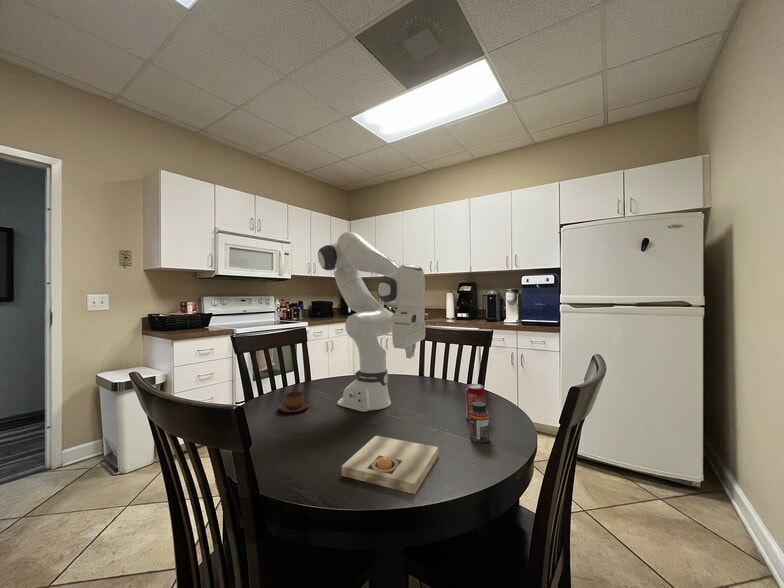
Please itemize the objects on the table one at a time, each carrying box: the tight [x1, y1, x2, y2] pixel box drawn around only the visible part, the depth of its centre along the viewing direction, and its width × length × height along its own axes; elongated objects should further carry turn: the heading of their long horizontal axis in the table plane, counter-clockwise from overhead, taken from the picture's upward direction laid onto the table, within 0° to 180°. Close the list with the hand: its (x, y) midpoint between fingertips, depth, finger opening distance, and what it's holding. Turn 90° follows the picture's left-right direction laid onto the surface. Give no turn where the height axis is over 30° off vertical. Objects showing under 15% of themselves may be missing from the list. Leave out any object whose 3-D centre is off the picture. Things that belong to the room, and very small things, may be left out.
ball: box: [377, 457, 392, 470], centre depth 85 cm, size 4×4×4 cm
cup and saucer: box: [278, 391, 310, 413], centre depth 133 cm, size 12×12×6 cm
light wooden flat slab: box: [341, 435, 439, 495], centre depth 89 cm, size 20×19×2 cm
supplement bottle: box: [469, 402, 490, 444], centre depth 103 cm, size 6×6×11 cm
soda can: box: [465, 383, 486, 420], centre depth 119 cm, size 7×7×12 cm
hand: (410, 357), depth 106 cm, fingers closed
